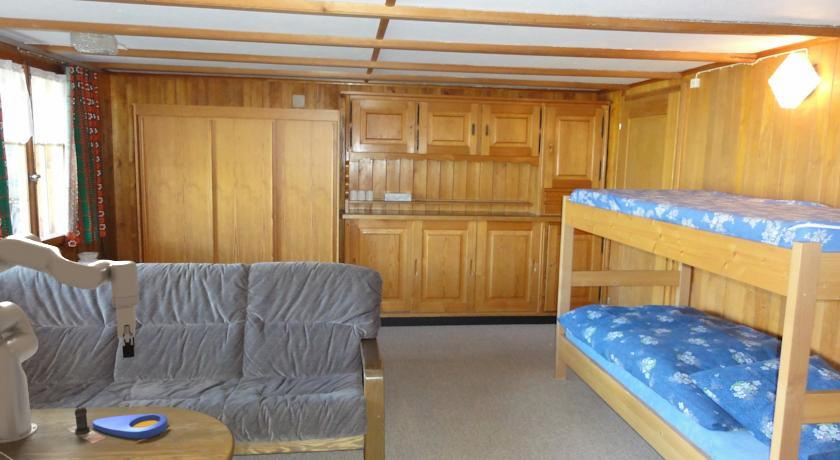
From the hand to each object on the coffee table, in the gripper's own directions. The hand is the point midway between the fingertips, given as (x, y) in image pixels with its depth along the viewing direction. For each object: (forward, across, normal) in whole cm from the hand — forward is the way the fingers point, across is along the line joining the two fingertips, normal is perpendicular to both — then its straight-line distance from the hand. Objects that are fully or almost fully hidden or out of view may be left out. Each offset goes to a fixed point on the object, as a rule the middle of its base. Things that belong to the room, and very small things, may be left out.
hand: (129, 352), depth 190 cm
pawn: (+26, -4, -15) cm, 30 cm away
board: (+26, -2, -14) cm, 30 cm away
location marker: (+27, -1, -1) cm, 27 cm away
